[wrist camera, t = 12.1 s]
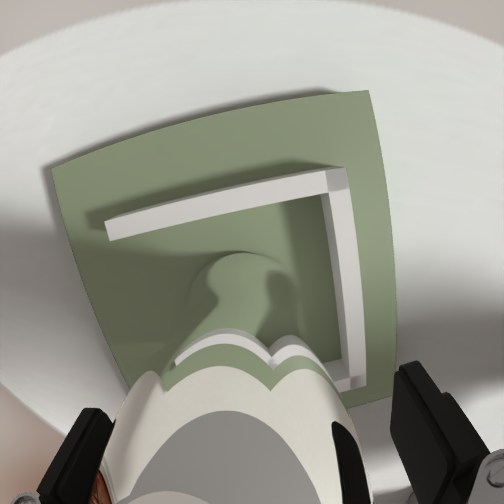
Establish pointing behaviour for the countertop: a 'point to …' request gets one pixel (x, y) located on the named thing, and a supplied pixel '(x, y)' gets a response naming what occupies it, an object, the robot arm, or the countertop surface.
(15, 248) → the countertop surface
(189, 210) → the plate
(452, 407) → the robot arm
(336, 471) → the beer glass
